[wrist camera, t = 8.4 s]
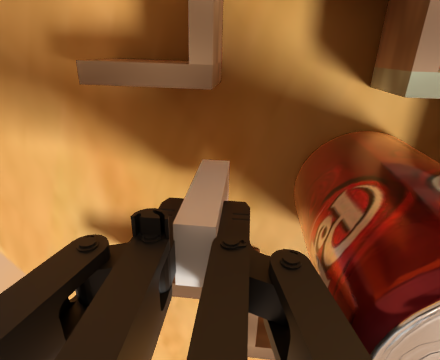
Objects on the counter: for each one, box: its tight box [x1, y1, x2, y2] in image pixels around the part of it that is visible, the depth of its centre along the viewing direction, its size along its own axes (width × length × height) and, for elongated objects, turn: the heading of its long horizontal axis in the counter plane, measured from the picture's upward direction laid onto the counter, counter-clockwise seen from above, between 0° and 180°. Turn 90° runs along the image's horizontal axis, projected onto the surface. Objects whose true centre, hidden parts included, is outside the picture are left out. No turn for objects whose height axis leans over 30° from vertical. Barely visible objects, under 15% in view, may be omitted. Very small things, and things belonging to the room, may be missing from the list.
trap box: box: [76, 0, 440, 360], centre depth 17 cm, size 22×21×4 cm
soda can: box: [294, 131, 440, 360], centre depth 13 cm, size 7×7×12 cm
